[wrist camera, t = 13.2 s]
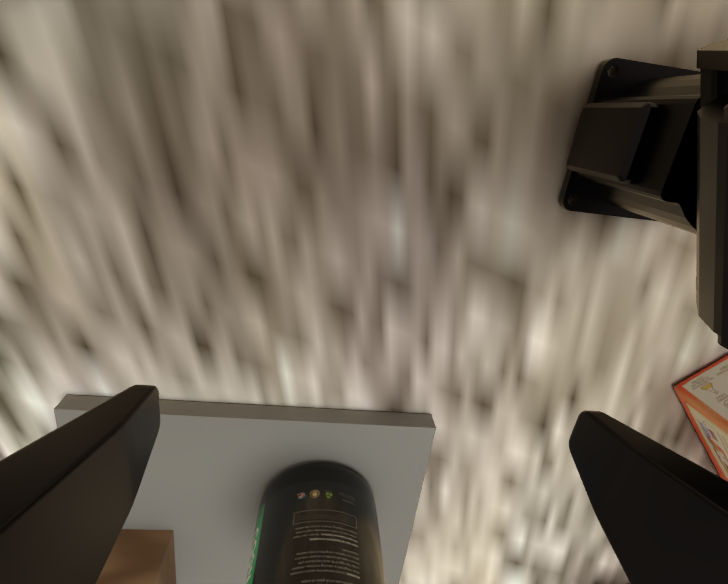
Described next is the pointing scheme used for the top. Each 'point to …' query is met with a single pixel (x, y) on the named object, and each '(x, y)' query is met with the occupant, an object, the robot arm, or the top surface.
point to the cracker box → (709, 410)
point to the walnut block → (141, 558)
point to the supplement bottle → (317, 529)
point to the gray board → (265, 474)
